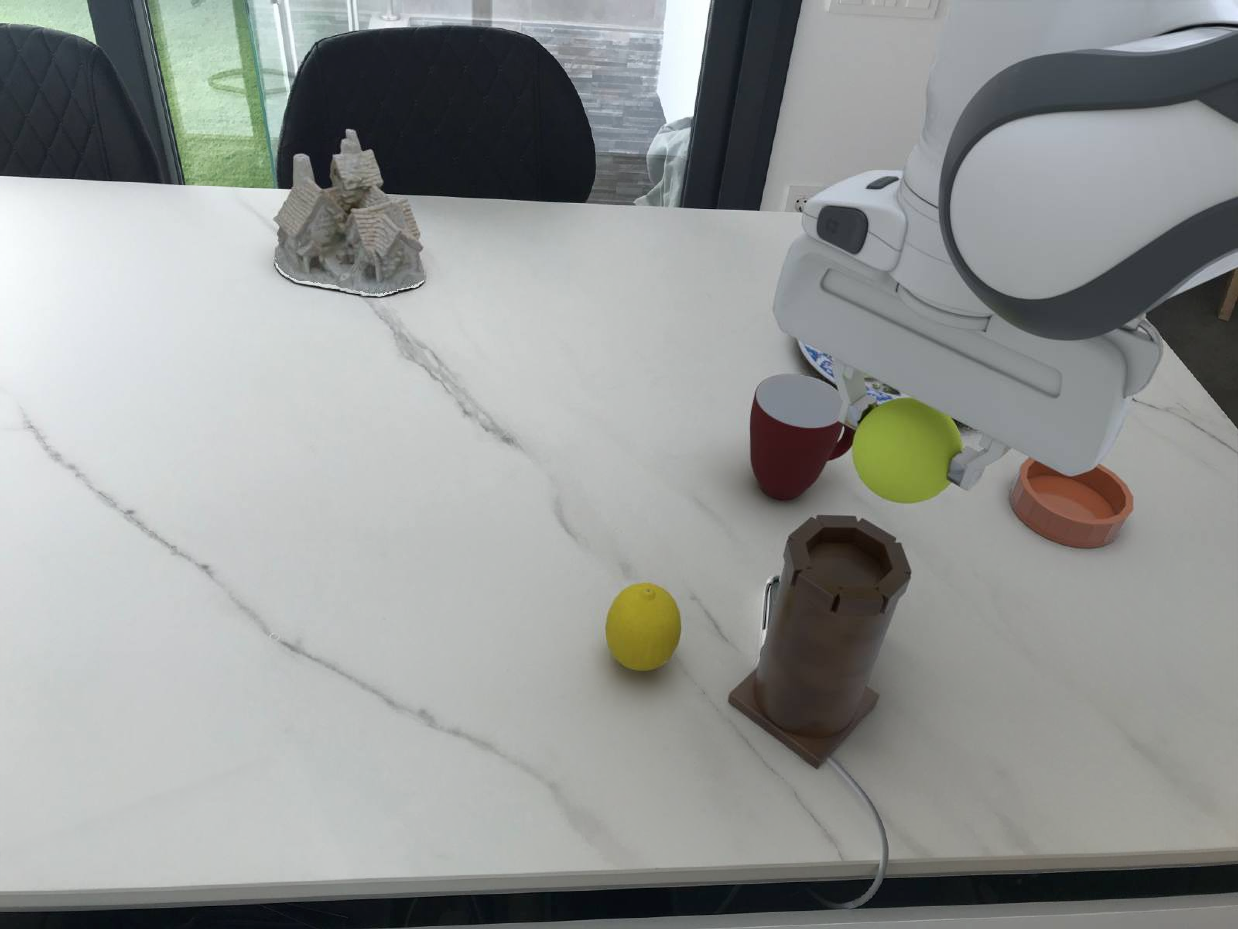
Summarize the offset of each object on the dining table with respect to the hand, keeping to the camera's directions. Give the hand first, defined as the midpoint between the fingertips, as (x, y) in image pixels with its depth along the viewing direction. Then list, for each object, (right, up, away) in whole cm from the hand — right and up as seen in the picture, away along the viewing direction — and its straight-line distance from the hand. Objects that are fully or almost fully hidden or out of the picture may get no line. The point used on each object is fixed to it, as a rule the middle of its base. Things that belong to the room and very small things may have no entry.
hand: (905, 451), depth 59 cm
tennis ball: (0, 0, 0) cm, 0 cm away
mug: (-1, -3, +33) cm, 33 cm away
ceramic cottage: (-49, +22, +57) cm, 79 cm away
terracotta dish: (+24, -5, +32) cm, 41 cm away
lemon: (-16, -16, +15) cm, 27 cm away
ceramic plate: (+15, +10, +50) cm, 53 cm away
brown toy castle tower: (-4, -18, +13) cm, 23 cm away
